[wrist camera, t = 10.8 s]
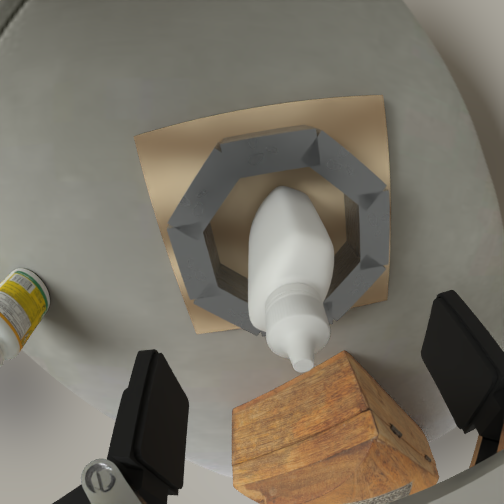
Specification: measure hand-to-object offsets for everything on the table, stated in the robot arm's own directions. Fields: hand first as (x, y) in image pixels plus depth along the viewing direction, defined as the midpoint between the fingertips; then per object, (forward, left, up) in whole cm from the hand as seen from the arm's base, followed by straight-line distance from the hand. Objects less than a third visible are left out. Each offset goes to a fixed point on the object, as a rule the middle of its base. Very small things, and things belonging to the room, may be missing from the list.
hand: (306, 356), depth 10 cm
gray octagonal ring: (+1, 0, -12) cm, 12 cm away
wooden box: (+31, +6, -14) cm, 35 cm away
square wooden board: (+1, 0, -13) cm, 13 cm away
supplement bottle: (+3, -24, -14) cm, 27 cm away
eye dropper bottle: (0, 0, -12) cm, 12 cm away
